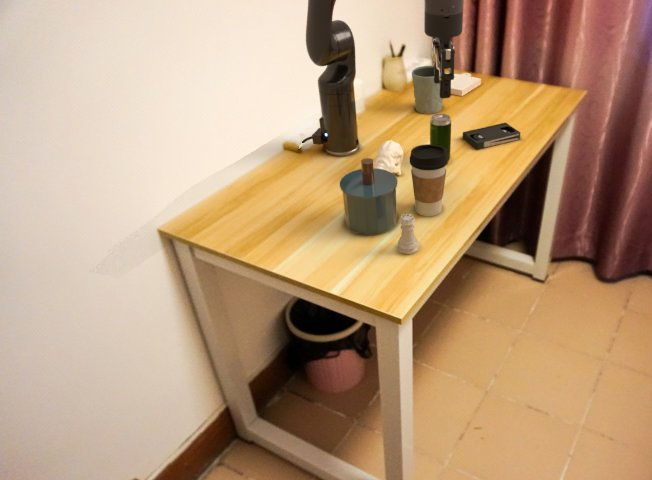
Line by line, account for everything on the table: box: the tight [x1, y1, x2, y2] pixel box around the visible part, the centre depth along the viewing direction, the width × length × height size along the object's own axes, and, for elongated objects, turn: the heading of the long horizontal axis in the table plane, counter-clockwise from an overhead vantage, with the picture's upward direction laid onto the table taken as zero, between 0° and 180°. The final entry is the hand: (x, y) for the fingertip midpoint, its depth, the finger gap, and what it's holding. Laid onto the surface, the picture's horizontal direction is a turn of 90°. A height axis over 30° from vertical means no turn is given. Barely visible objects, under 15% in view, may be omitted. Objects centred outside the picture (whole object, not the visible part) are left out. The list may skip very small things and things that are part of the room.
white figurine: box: [373, 139, 405, 176], centre depth 134 cm, size 6×8×12 cm
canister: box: [342, 187, 398, 236], centre depth 119 cm, size 11×11×10 cm
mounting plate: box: [446, 72, 482, 97], centre depth 186 cm, size 18×13×2 cm
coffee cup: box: [409, 143, 449, 217], centre depth 120 cm, size 8×8×15 cm
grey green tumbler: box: [411, 65, 444, 115], centre depth 168 cm, size 10×10×12 cm
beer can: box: [429, 113, 452, 163], centre depth 140 cm, size 5×5×12 cm
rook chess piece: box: [397, 213, 420, 255], centre depth 111 cm, size 4×4×8 cm
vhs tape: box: [462, 122, 521, 150], centre depth 152 cm, size 14×8×2 cm, turn 114°
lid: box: [339, 157, 398, 199], centre depth 114 cm, size 12×12×6 cm
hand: (441, 90), depth 115 cm, fingers open, 8 cm apart
